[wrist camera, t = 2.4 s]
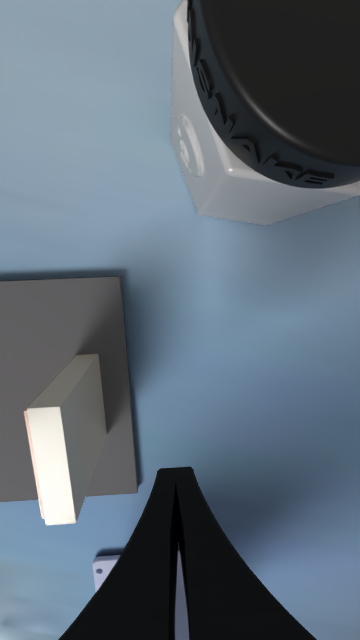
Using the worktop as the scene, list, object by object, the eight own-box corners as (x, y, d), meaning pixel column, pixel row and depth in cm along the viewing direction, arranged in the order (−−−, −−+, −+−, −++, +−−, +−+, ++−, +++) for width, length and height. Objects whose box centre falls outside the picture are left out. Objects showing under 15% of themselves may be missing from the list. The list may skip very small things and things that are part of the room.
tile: (106, 434, 20) (75, 523, 14) (83, 435, 20) (40, 525, 14) (98, 353, 19) (59, 406, 12) (73, 355, 19) (20, 408, 12)
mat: (138, 486, 22) (137, 493, 22) (-77, 500, 22) (-83, 507, 21) (120, 276, 19) (119, 276, 18) (-134, 286, 18) (-144, 287, 18)
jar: (151, 104, 17) (114, -248, 5) (283, 44, 16) (568, -480, 5) (207, 250, 19) (273, 239, 7) (326, 200, 18) (607, 98, 7)
